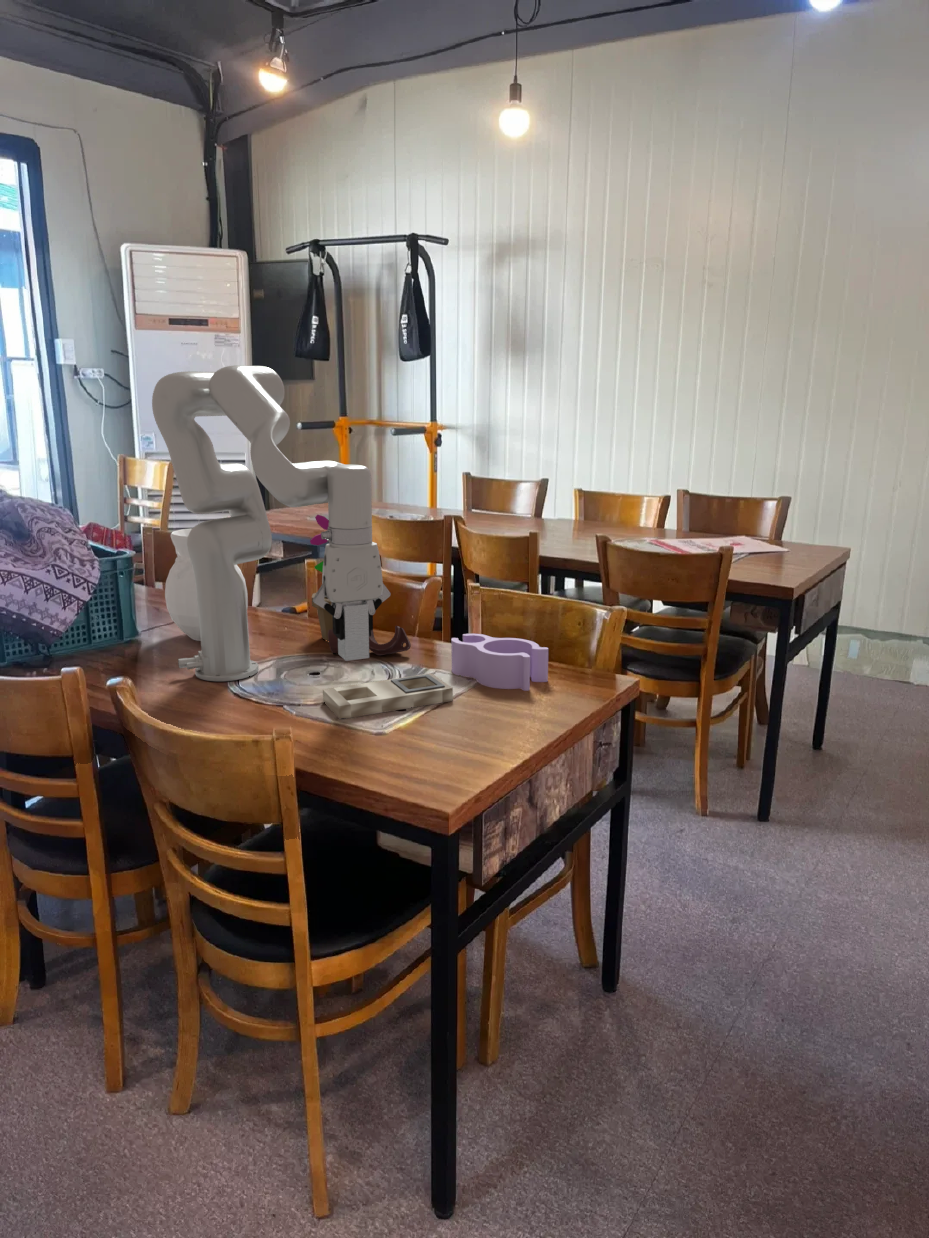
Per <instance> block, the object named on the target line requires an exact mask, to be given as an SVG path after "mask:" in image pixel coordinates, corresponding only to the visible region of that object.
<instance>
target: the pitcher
mask: <svg viewBox="0 0 929 1238" xmlns="http://www.w3.org/2000/svg"><path fill="white" fill-rule="evenodd" d="M193 528H194V527H191V528H183V529H177V530H174V531H172V532H171V533H170V538H171V542H172V545H173V546H174V548H175V554H176V558H175V559H174V563H173V565H172V566H171V568H170V569H169V572H168V575H167V578H166V580H165V586H164V587H165V590H164V598H165V605H166V608H167V611H168V614H169V617H170V619H171V621H173V622H174V624H175V625H176V626H177V627H178V628H179V630H181V632H182V633H184V634H185V635H187V636H188V637H189V638H190V639H191V640H194V641H195V642H201V638H200V626H199V614H198V601H197V592H196V582H195V575H194V571H193V566H192V563H191V559H190V556H189V552H188V547H187V538H188V535H189V533H190V531H191V530H192V529H193ZM234 567H235V569H236V571H237V573H238V574H239V576H240V577H241V579H242V580H243V583H244V586H245V591H246V604H247V609H248V607H249V606H248V605H249V600H248V599H249V598H248V595H249V594H248V588H247V584H246V578H245V576H244V575H243V573H242V570H241V568H240V567H239V566H238V564H237V565H234Z"/></svg>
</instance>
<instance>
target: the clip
mask: <svg viewBox="0 0 929 1238" xmlns="http://www.w3.org/2000/svg"><path fill="white" fill-rule="evenodd" d="M450 641H451V651H450V652H451V672H452V673H453V674H454V675H456V676H459V675H461V677H465V676H466V677H467V678H473V679H475V680H476V681H477V683H479V684H480V685H482V686H485V687H488V688H493V689H501V690H502V689H503V690H504V689H505V690H513V689H521V690H522V691H525V692H527V691H528V692H529V691H530V687H531V686H530V679H531V682H532V683H533V682H535V683H547V682H548V679H549V647H545V646H543V647H542V646H540V645H539V644H538V643H536V642H535V641H533V640H528V639H525V638H518V637H517V638H516V637H494V636H493V637H492V636H489V635H486V634H482V633H463V634H462V641H461V640H459V638H458V637H451V640H450Z"/></svg>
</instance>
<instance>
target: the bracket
mask: <svg viewBox="0 0 929 1238" xmlns="http://www.w3.org/2000/svg"><path fill="white" fill-rule="evenodd" d="M394 629H395V631H394V635H393V636H392V638H391V639H390V640H389V641H388V642H386V643H378V642H377V640H376V638H375V635H374V629H373V630H371V636H370V637H369V651H370V652H372V653H373V654H375V655H377V656H386V655H392V654H396V653H401V652H402V653H403V652H407V651H409V650H410V648H411V645H412V644H411V642H410V639H409V638H408V635H407V633H406V631H405V629H404V628H403V627H400V626H398V625H395V626H394ZM328 641H329V642H328V644H329V649H330V651H331V654H333V653H338V638H337V637H336V635H334V634H333V629H330V630H329V631H328ZM404 644H405V646H404Z"/></svg>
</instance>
